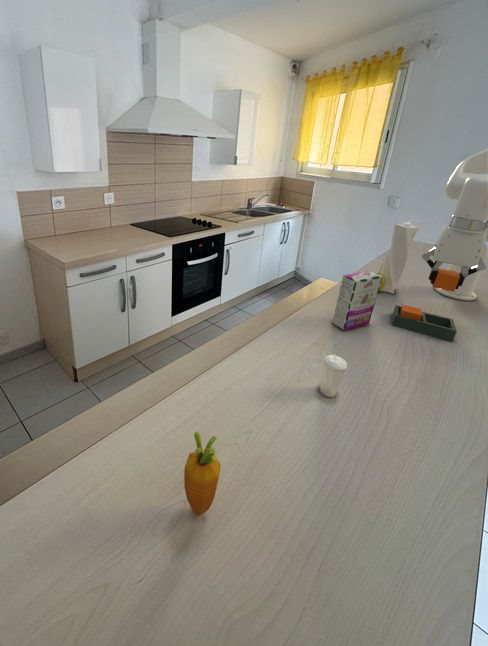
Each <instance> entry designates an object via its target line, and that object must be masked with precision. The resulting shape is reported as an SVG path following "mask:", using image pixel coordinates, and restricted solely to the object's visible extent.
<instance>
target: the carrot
mask: <svg viewBox="0 0 488 646" xmlns="http://www.w3.org/2000/svg"><path fill="white" fill-rule="evenodd" d="M200 433H201V432H200V431H195V432H194V433H193V436H194V440H195V444H196V449H195V450H194V451H192V452H190V453H189V454H188V457H187V459H186V463H185V465H184V469H183V470H184V472H183V473H184V475H183V478H184V479H183V482H184V483H183V485H184V487H183V488H184V492H185V496H186V500H187V502H188V505H189V507H190V508H191V511H192V512H193V514H194V515H197V516H202V515H203V514H204V513H206V512H207V511H209V510H210V508H211V506H212V504H213V502H214V499H215V496H216V491H217V488H218V483H219V479H220V473H221V462H220V461H219V459H218V457H217V456H216V448H215V447H214V446H213V444H214V443H215V442H216V440H217V438H218V437H217V436H215V435H213V436H212V437H211V438H210V439H209V440H208V442H207V444H206V446H205V449H204V448H203V446H202V438H201V434H200Z"/></svg>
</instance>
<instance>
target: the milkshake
mask: <svg viewBox="0 0 488 646" xmlns="http://www.w3.org/2000/svg"><path fill="white" fill-rule="evenodd" d="M337 353H338V347H337V346H336V347H334V352H333V354H329V355H327V356H325V357H324V359H323V365H322V374H321V380H320V384H319V385H320V386H319V391H320V393H321V394H322V395H323V396H325V397H327V398H333V397H334V396H336V394H337V392H338V389H339V387H340V385H341V382H342V379H343V377H344V375H345V373H346V371H347V368H348V363H347V361H346V360H345V359H344V358H342V357H340V356H338V355H337Z"/></svg>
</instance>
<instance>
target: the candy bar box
mask: <svg viewBox="0 0 488 646" xmlns="http://www.w3.org/2000/svg"><path fill="white" fill-rule="evenodd" d="M377 273H378V272H374V271H373V270H364V271H360V272H359V271H358V272H353V273H349V274H343V275H342V279H341V284H340V287H339V291H338V292H339V293H338V295H337V296H338V297H337V300H336V305H335V309H334V313H333V318H332V324H333V325H334V326H336V327H337V328H339V329H340V330H342V331H349V330H352V329H355V328H358V327H362V326H365V325H369V324H370V322H371V319H372V315H373V312H374V307H375V304H376V302H377V297H378V294H379V292H380V291H379V287H380V284H381V280H382V277H383V276H381V275H379V274H377Z"/></svg>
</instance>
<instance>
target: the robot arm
mask: <svg viewBox="0 0 488 646" xmlns="http://www.w3.org/2000/svg"><path fill="white" fill-rule="evenodd" d="M485 173H488V148H486V149H483V150H481V151H478V152H477V153H474V154H472V155H471V156H468V157H466V158H464V160H462V161H461V162H460V163H459V164H458V165H457V166H456V168H455V170H454V171H453V173H451V176H450V178H449V179H448V181H447V183H446V186H445V196H446V197H447V198H449V199H451V200H454V201H457V202H456V205H455V208H454V211H453V213H452V215H451V219H450V221H449V224H447V225H444V227H443V228H442V230H441V231H440V233H439V235H438V237H437V239H436V242H435V244H434V246H433V247H432V248H431V249H429V250H427V251H426V252H425V253H422V254H421V258H422V260H424V262H426V263H427V265H428V266H429V267H430V269H431V270H430V273H429V276H428V280H429V282H430V285H432V284H434V282H435V279H436V277H437V274H438V268H440V267H441V266H442V265H443V264H448V266H447V269H446V270H450V271H455V272H458V274H459V277H460V279H459V281H458V283H457V286H456V288H455V291H454V292H453V291H448V290H443V289H439V288H434V289H435V291H436V292H437V293H439V294H440V295H442V296H446V297H448V298H451V299H454V300H461V301H468V302H469V301H475V300H476V299H477V294H476V293H475V292H474V290H475V288H476V285H477V283H478V282H479V278H480V276H481V274H482V272H483V271H484V270H486V269H487V266H486V262H487V260H488V245H487V243H486V242H488V174H485ZM431 257H432V258H431ZM433 260H434V261H433Z"/></svg>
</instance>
